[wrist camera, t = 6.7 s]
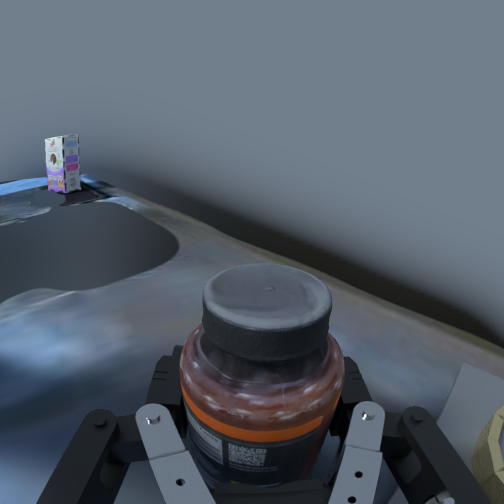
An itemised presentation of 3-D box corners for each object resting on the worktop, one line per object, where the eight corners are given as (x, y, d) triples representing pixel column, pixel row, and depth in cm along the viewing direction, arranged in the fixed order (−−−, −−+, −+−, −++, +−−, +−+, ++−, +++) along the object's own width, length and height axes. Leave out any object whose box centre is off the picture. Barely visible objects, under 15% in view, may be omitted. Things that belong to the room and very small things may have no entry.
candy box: (82, 190, 80) (79, 133, 74) (65, 194, 75) (62, 136, 69) (62, 186, 86) (59, 136, 80) (47, 190, 82) (44, 138, 75)
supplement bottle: (280, 418, 17) (307, 244, 13) (327, 492, 12) (408, 318, 8) (184, 440, 15) (161, 258, 11) (215, 528, 10) (194, 372, 6)
